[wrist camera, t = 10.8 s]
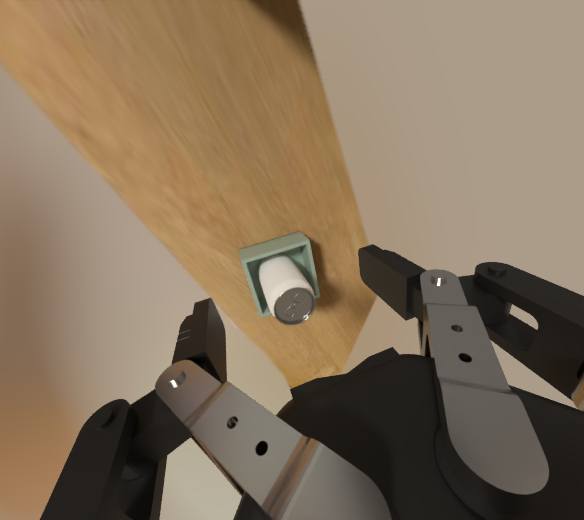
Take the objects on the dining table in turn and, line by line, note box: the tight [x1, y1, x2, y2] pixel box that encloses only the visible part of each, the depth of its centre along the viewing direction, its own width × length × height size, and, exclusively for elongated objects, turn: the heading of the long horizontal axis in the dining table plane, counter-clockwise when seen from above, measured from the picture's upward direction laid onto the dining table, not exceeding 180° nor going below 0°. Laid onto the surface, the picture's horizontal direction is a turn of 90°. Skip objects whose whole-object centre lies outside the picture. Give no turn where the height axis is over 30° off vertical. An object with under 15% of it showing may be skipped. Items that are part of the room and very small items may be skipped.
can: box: [258, 253, 316, 325], centre depth 35 cm, size 6×6×12 cm
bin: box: [238, 231, 320, 318], centre depth 39 cm, size 11×11×5 cm
